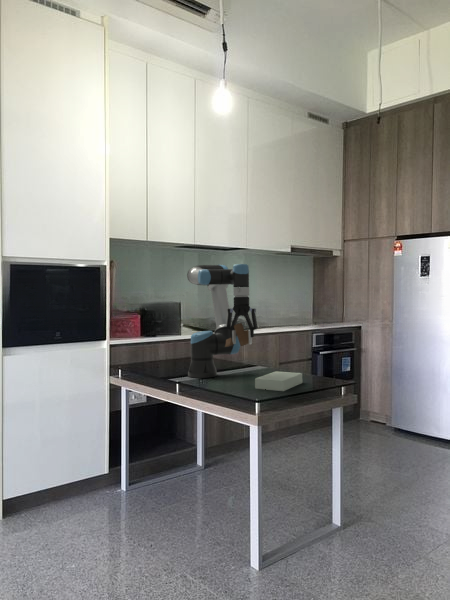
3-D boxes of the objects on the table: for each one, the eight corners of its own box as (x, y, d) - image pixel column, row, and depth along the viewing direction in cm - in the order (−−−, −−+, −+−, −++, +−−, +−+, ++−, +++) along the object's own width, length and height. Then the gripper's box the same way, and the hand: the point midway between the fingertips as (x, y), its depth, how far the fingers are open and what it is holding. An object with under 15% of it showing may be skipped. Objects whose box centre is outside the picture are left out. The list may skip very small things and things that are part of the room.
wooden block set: (246, 347, 248) (239, 328, 251) (260, 341, 244) (253, 322, 246) (226, 350, 233) (219, 330, 236) (240, 343, 229) (233, 323, 231)
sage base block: (255, 389, 226) (255, 378, 226) (275, 381, 245) (275, 371, 245) (283, 392, 219) (283, 380, 219) (302, 383, 238) (302, 373, 238)
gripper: (218, 296, 238) (219, 344, 239) (259, 296, 230) (260, 345, 231) (224, 296, 245) (225, 342, 245) (264, 296, 237) (265, 343, 238)
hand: (242, 344), depth 238 cm, fingers closed on wooden block set, 8 cm apart
